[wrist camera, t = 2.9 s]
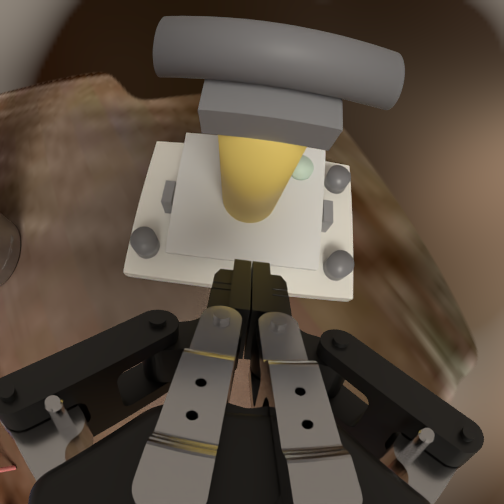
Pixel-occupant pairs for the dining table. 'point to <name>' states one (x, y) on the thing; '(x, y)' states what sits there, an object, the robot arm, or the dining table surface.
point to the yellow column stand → (263, 131)
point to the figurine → (7, 468)
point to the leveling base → (203, 269)
